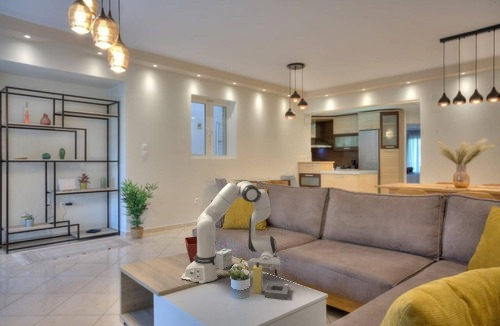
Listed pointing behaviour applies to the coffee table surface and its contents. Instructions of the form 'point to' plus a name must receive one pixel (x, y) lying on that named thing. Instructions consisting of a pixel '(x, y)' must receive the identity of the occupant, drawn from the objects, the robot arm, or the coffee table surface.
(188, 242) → the plant pot
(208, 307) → the coffee table surface
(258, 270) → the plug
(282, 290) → the socket
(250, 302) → the coffee table surface
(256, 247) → the robot arm
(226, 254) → the light bulb box
